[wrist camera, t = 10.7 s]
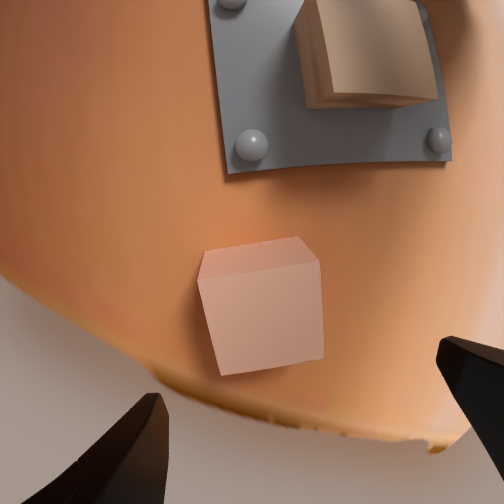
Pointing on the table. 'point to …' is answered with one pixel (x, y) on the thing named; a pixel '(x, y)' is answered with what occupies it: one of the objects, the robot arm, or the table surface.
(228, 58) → the baseplate
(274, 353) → the pink cube
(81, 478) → the robot arm
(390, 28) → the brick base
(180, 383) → the table surface
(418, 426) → the table surface
